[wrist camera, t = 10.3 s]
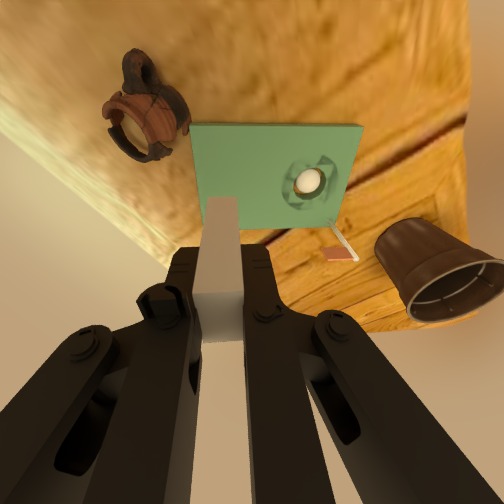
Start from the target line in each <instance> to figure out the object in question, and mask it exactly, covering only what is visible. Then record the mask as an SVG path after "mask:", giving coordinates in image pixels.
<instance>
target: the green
mask: <svg viewBox="0 0 504 504" xmlns="http://www.w3.org/2000/svg"><path fill="white" fill-rule="evenodd" d="M189 129H190V136H191V143H192V151H193V158H194V165H195V172H196V179H197V187H198V194H199V201H200V208H201V215H202V223H203V224H204V218H205V212H206V206H207V200H208V197H237V207H238V220H239V230H245V229H279V228H312V227H330V225H329V224H328V222H327V219H329V218H330V219H331V220H332V222H333V223H334V224H335V223H336V220H337V216H338V213H339V210H340V206H341V203H342V200H343V196H344V193H345V189H346V186H347V183H348V179H349V176H350V173H351V169H352V166H353V163H354V159H355V156H356V153H357V149H358V146H359V142H360V139H361V136H362V132H363V129H364V127H363V126H360V125H357V124H283V123H191V124H190V125H189ZM307 168H319V169H320V171H321V174H322V176H321V180H320V184H319V186H318V187H317V188H316V189H315V190H314V191H312V192H310V193H308V194H298V193H297V192H295V191H294V190H293V186H294V180H295V179H296V177H297V176H298V174H299V173H300V172H302V171H304V170H305V169H307Z"/></svg>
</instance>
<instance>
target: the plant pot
mask: <svg viewBox="0 0 504 504" xmlns="http://www.w3.org/2000/svg"><path fill="white" fill-rule="evenodd" d="M375 254H376V257H377V258H378V259H379V261H380V263H381V264H382V266H383V267H384V269H385V271H386V272H387V274H388V275H389V277H390V279H391V280H392V282H393V283H394V285H395V287H396V288H397V290H398V291H399V296H400V298H401V300H402V301H403V303H404V305H405V306H406V312H407V314H408V316H409V317H410V318H411V319H412V320H414V321H416V322H420V323H438V322H444V321H449V320H453V319H456V318H459V317H462V316H465V315H467V314H469V313H472V312H474V311H476V310H478V309H479V308H482V307H483V306H485V305H487V304H488V303H490V302H491V301H493V300H494V299H496V298H497V297H498V296H500V295H501V294H502V293H503V292H504V260H502V259H495V258H494V257H492V256H490V255H488V254H486V253H485V252H483V251H481V250H479V249H474V248H472V247H470V246H469V245H467V244H465V243H464V242H462V241H460V240H458V239H457V238H455V237H453V236H451V235H450V234H448V233H446V232H445V231H443V230H441V229H440V228H438V227H436V226H434V225H433V224H431V223H430V222H428V221H426V220H424V219H420V218H411V219H406V220H403V221H400V222H398V223H396V224H394V225H392V226H391V227H389V228H388V230H387V232H386V233H385V234H383V235H381V236H380V237H379V238H378V240H377V242H376V245H375Z"/></svg>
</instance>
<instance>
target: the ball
mask: <svg viewBox="0 0 504 504" xmlns="http://www.w3.org/2000/svg"><path fill="white" fill-rule="evenodd" d="M319 183H320V175H319V173H318V172H317V171H316V170H315V169H313V168H307V169H305V170H304V171H302V172H300V173H299V174H298V176H297V177H296V186H297V188H298V189H299V190H300V191H302V192H304V193H309V192H312V191H314V190H315V189H316V188H317V187H318V186H319Z"/></svg>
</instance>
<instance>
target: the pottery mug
mask: <svg viewBox="0 0 504 504" xmlns="http://www.w3.org/2000/svg"><path fill="white" fill-rule="evenodd" d="M122 70H123V74H124V83H123V85H122V89H123V91H124V92H125V93H127V94H125V95H124V96H122V93H121V92H120V91H118V92H116V93H115V94H114V95H113V96H112V97H111V99H110V101H107V102H106V103H105V104H104V105H103V108H102V115H103V117H104V118H105V119H110V121H111V123H112V125H113V127H112V128H108V133H109V134H110V136H111V137H112V139H113V140H114V142H115V143H116V144H117V145H118V146H119V148H120V149H121V150H122V151H124V152H125V153H126V154H127V155H128V156H130V157H131V158H133V159H135V160H136V161H139V162H142V163H147V162H149V161H152V160H153V161H159V160H160V158H164V157H165V156H170V155H171V153H172V151H173V149H172V148H167V147H165V146H164V145H162V144H161V143H160V142H159V141H172V140H174V139H175V137H176V136H177V130H178V129H179V128H180V127H181V125H182V128H183V135H184V136H186V135H187V134H188V132H189V130H190V129H189V125H190V124H191V118H190V114H189V110H188V108H187V105H186V103H185V101H184V100H183V98H182V97H181V95H180V94H179V93H178V92H177V91H176V90H175V89H174V88H172V87H171V86H167V85H163V84H162V82H161V81H160V79H159V77H158V75H157V72H156V68H155V66H154V64H153V62H152V60H151V59H150V58H149V57H148V56H147V55H146V54H145V53H144V52H143V51H141V50H139V49H136V48H133V49H132V50H131V51H129V52H127V53H126V54H125V55H124V58H123V61H122ZM150 93H151V94H155V95H157V97H156V99H155V100H153V98H152V97H151V96H150V95H149V94H150ZM122 111H124V112H125V113H127V114H128V115H129V116H130V117H131V118H132V119H133V120H134V121H135V122H136V123H137V124H138V125H139V127H140V128H141V129H142V131H143V133H144V135H145V137H146V139H147V142H148V143H149V153H148V155H146V154H144V153H142V152H140V151H138V149H137V148H136V147H135V146H134V145H133V144H132V143H131V142H130V141H129V140H128V139H127V137H126V135H125V133H124V131H123V129H122V127H121V125H120V123H121V121H122V119H123V117H124V115H123V113H122Z"/></svg>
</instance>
